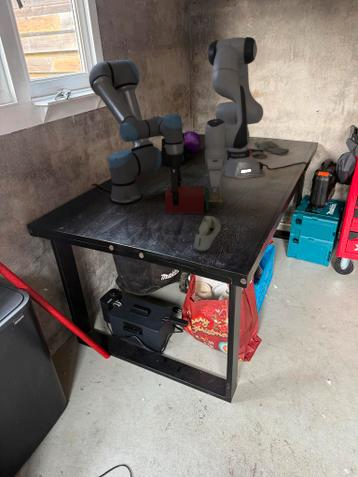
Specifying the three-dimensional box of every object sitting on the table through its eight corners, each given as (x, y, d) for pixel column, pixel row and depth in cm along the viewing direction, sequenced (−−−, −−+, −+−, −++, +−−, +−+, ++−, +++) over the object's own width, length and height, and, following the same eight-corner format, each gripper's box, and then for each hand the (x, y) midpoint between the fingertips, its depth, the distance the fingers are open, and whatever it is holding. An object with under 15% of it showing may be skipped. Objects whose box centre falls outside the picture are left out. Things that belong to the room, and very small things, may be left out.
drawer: (221, 201, 156) (221, 187, 152) (222, 210, 147) (222, 196, 144) (175, 202, 158) (175, 188, 155) (173, 211, 150) (172, 196, 146)
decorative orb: (204, 151, 235) (204, 129, 228) (194, 156, 225) (193, 134, 217) (186, 149, 243) (186, 128, 235) (175, 154, 232) (174, 132, 224)
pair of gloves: (253, 161, 209) (253, 153, 207) (231, 152, 230) (232, 144, 227) (291, 153, 219) (292, 145, 216) (267, 145, 240) (268, 138, 237)
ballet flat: (224, 223, 138) (224, 206, 134) (211, 254, 118) (211, 235, 114) (205, 222, 140) (204, 205, 136) (189, 252, 120) (188, 233, 116)
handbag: (171, 167, 207) (169, 126, 195) (160, 165, 212) (156, 125, 199) (188, 158, 222) (187, 119, 209) (177, 157, 226) (175, 119, 214)
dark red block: (204, 203, 158) (204, 185, 153) (204, 213, 148) (203, 195, 144) (169, 203, 159) (167, 186, 155) (166, 213, 150) (165, 195, 145)
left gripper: (169, 146, 152) (172, 190, 163) (162, 161, 131) (166, 210, 142) (185, 145, 151) (187, 190, 162) (181, 160, 131) (183, 210, 141)
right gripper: (208, 153, 150) (208, 182, 157) (207, 166, 133) (207, 198, 139) (221, 153, 150) (221, 182, 156) (223, 166, 132) (222, 198, 139)
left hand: (177, 199), depth 152 cm, fingers closed on dark red block, 11 cm apart
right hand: (214, 190), depth 148 cm, fingers closed
